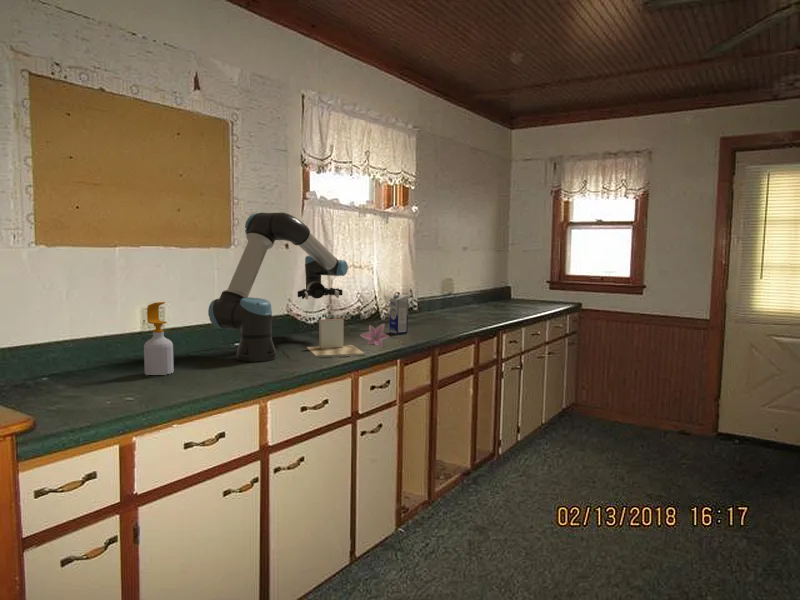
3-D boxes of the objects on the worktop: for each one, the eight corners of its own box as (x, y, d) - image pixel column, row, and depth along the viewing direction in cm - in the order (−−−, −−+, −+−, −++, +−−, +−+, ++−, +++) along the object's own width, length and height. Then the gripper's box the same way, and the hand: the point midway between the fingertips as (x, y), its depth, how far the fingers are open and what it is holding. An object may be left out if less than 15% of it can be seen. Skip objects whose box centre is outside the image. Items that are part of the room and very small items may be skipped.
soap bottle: (155, 377, 184) (153, 303, 182) (139, 374, 189) (137, 302, 187) (179, 372, 192) (177, 301, 190) (162, 369, 197) (160, 300, 195)
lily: (357, 347, 252) (356, 330, 246) (373, 334, 260) (373, 318, 254) (378, 358, 246) (378, 341, 241) (394, 345, 254) (394, 328, 249)
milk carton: (407, 333, 288) (408, 295, 286) (396, 334, 284) (397, 295, 282) (400, 331, 294) (400, 294, 292) (389, 332, 290) (389, 294, 288)
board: (315, 358, 220) (315, 355, 220) (306, 349, 239) (306, 347, 239) (364, 356, 227) (364, 353, 227) (351, 347, 246) (351, 344, 245)
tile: (320, 348, 235) (320, 320, 234) (319, 347, 238) (319, 319, 237) (343, 347, 239) (343, 319, 238) (342, 346, 241) (342, 318, 240)
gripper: (342, 296, 270) (350, 302, 249) (289, 298, 263) (294, 305, 243) (342, 280, 268) (350, 285, 248) (289, 283, 262) (293, 288, 241)
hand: (322, 295), depth 245 cm, fingers open, 13 cm apart
